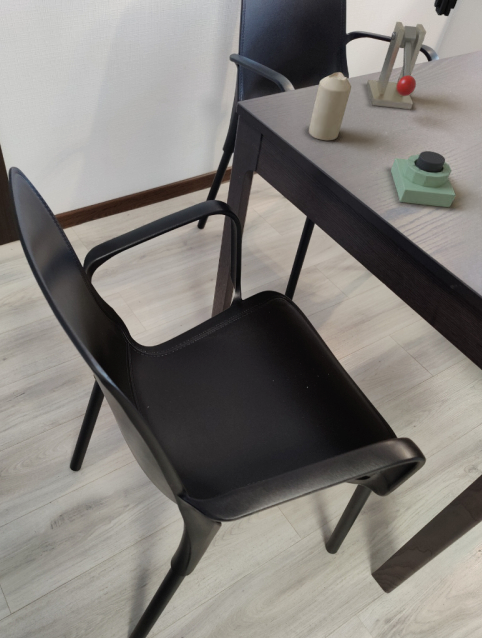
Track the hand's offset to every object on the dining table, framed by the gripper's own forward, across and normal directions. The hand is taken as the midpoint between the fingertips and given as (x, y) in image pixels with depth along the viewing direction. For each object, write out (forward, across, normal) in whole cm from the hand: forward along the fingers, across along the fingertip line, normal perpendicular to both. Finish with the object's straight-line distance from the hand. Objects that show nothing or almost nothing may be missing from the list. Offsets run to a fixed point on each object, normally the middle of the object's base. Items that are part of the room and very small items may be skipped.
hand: (441, 13), depth 82 cm
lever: (+12, -1, +10) cm, 16 cm away
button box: (+19, 0, -22) cm, 29 cm away
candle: (+19, -15, -6) cm, 25 cm away
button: (+15, 0, -22) cm, 26 cm away
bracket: (+19, -1, +14) cm, 24 cm away
